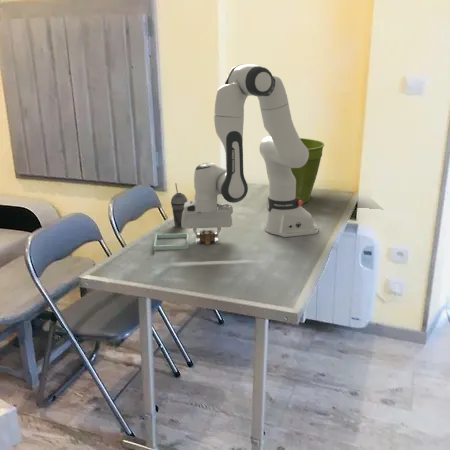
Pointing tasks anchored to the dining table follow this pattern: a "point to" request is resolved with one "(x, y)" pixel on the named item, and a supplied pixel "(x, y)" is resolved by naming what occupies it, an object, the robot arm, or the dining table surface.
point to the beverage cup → (178, 207)
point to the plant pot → (308, 169)
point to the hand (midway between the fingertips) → (207, 237)
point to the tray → (167, 247)
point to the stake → (204, 242)
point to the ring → (207, 237)
